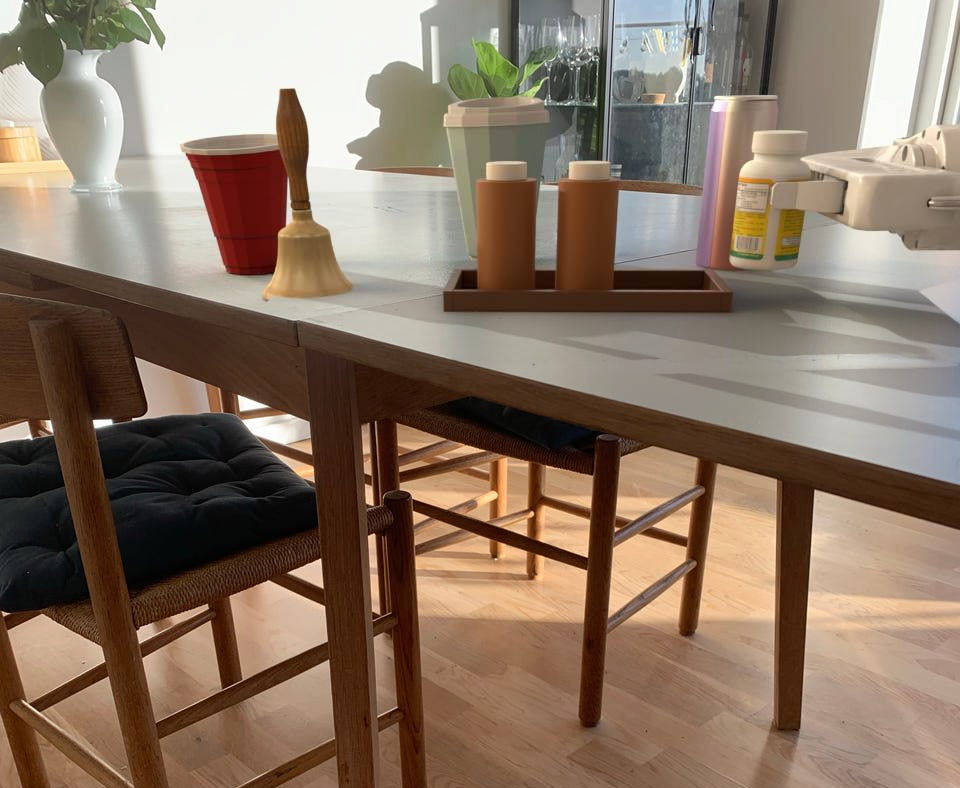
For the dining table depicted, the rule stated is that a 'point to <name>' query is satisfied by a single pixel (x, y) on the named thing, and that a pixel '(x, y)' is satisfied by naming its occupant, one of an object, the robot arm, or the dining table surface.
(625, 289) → the tray
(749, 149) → the beverage can
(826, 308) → the dining table surface
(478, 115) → the disposable coffee cup
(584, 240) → the amber bottle
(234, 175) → the plastic cup
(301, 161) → the hand bell
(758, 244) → the supplement bottle
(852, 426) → the dining table surface
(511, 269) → the far amber bottle
